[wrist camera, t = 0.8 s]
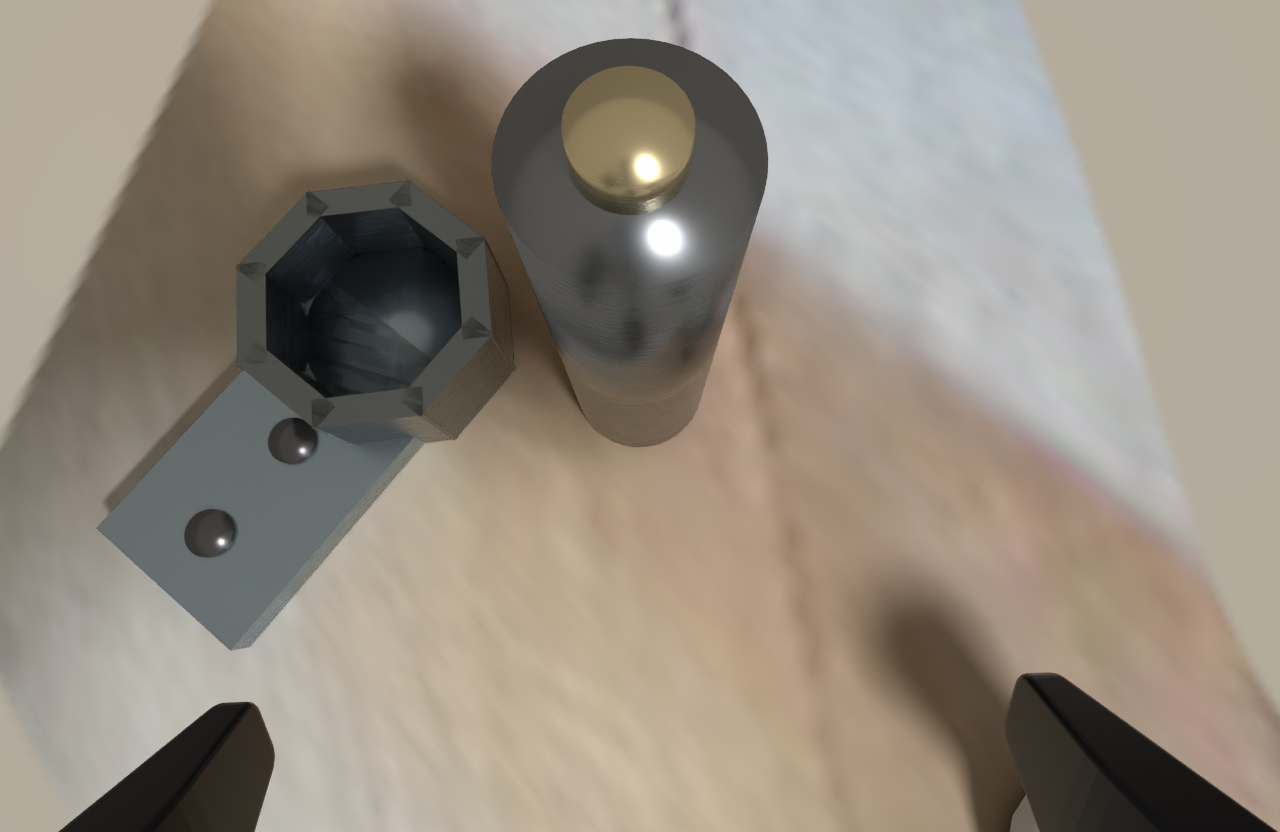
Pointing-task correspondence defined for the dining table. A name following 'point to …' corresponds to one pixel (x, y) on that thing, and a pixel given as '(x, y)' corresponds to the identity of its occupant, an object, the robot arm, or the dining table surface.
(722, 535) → the dining table surface
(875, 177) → the dining table surface
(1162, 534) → the dining table surface
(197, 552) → the hinge leaf
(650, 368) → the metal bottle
